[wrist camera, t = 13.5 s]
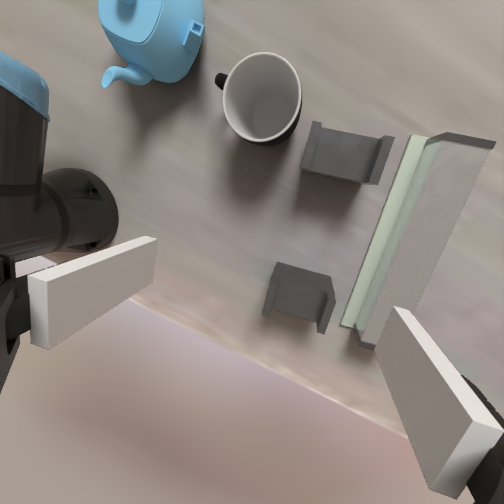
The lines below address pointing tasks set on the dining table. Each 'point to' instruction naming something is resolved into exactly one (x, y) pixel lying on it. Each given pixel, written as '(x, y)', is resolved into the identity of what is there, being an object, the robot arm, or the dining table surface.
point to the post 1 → (301, 295)
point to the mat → (384, 226)
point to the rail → (421, 229)
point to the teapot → (152, 38)
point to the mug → (261, 98)
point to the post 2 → (345, 155)
